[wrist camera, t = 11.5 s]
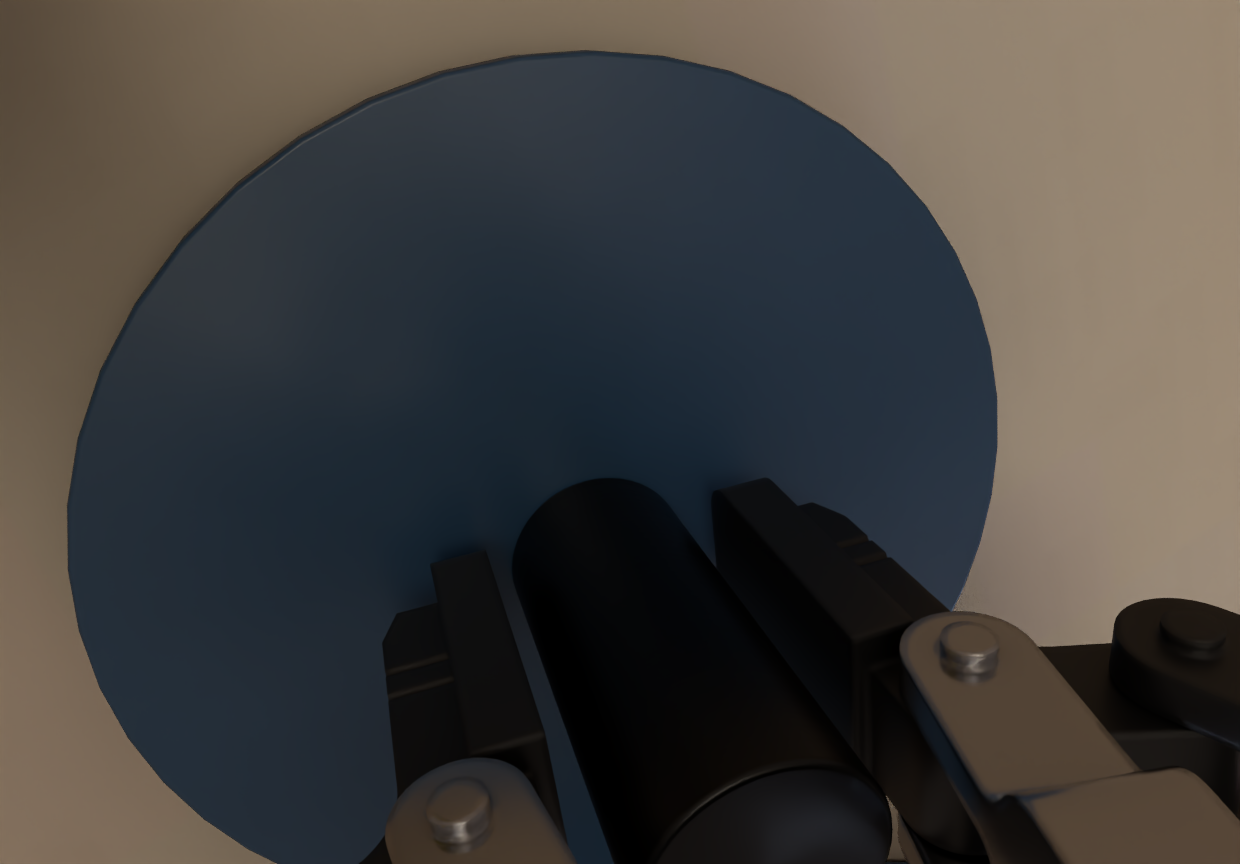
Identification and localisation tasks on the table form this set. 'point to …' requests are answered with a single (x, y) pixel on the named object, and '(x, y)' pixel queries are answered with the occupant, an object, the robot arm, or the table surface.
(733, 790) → the lid
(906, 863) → the pot
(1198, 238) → the table surface
